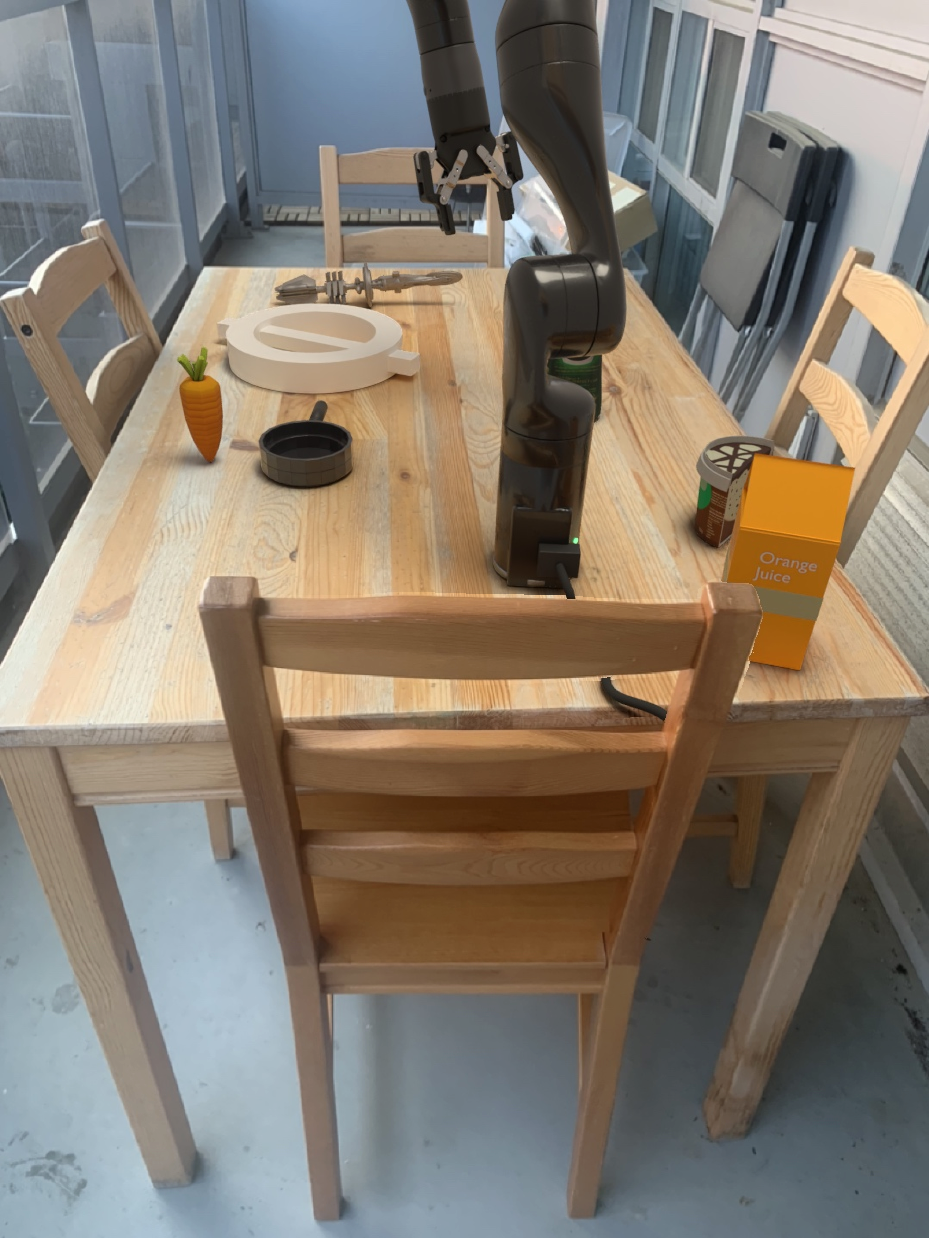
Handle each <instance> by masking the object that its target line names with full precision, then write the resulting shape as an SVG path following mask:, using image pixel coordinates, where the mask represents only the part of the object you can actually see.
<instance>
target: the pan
mask: <svg viewBox="0 0 929 1238" xmlns="http://www.w3.org/2000/svg"><path fill="white" fill-rule="evenodd" d="M258 449H259V457H260V458H259V459H260V466H261V471H262V473H263V474H265V475H266V476H267V478H269V479H271V480H273V481H275V482H276V483H280V484H281V485H285V486H289V487H295V488H296V487H297V488H313V487H319V486H326V485H330V484H332V483H334V482H337V481H339V480H340V479H342V478H344V477H345V476H347V475H348V474H349V473H350V472H351V471H352V470H353V466H354V464H355V461H354V460H355V457H354V438H353V435H352V433H351V432H350V431H349V430H348V429H347V428H345V427H344V426H342V425H339V424H337V423H335V422H330V421H325V420H323V421H317V420H309V419H304V420H302V419H301V420H293V421H288V422H287V421H286V422H282V423H279V424H276V425H274V426H272V427H270V428H268V429H266V430H265V431H264V432H262V433H261V435H260V437H259V439H258Z"/></svg>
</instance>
